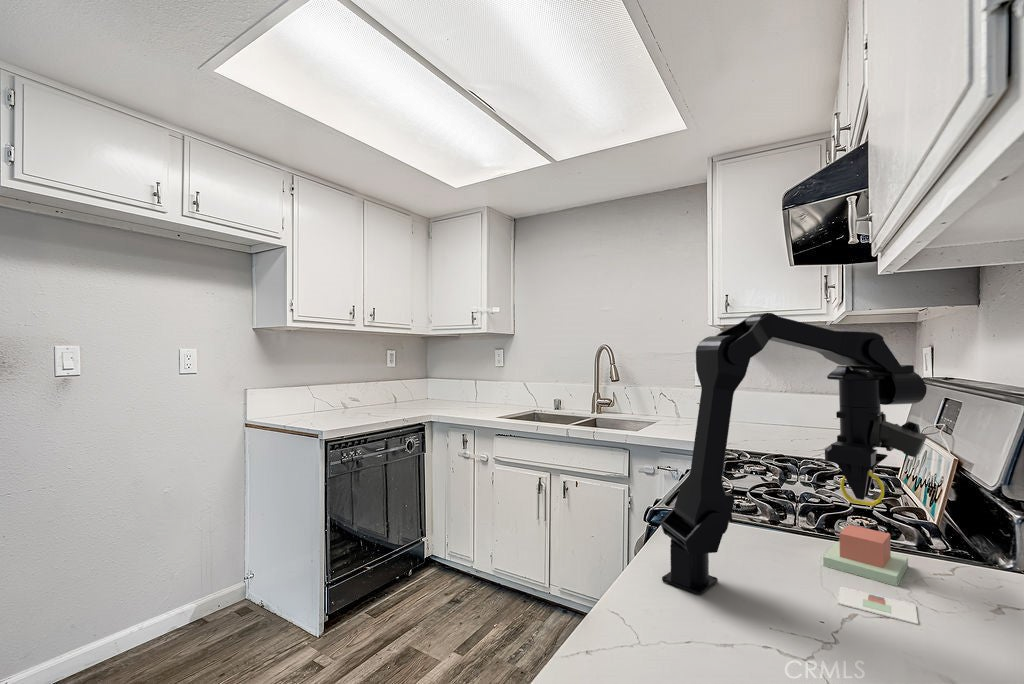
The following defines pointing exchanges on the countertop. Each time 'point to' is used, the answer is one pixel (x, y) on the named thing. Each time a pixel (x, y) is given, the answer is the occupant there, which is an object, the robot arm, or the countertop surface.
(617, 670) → the countertop surface
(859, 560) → the brick
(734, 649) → the countertop surface
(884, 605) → the page
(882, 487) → the watch
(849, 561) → the baseplate
